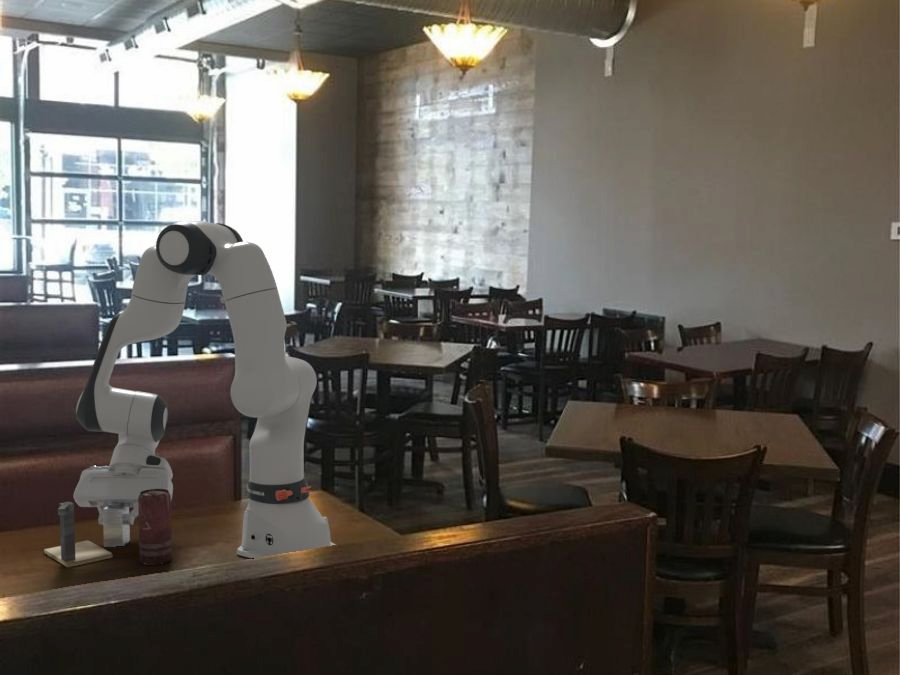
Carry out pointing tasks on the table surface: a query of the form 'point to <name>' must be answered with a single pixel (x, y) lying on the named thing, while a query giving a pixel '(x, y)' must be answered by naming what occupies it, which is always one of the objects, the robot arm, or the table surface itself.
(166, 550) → the can
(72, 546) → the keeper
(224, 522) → the table surface
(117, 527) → the grey square pillar
